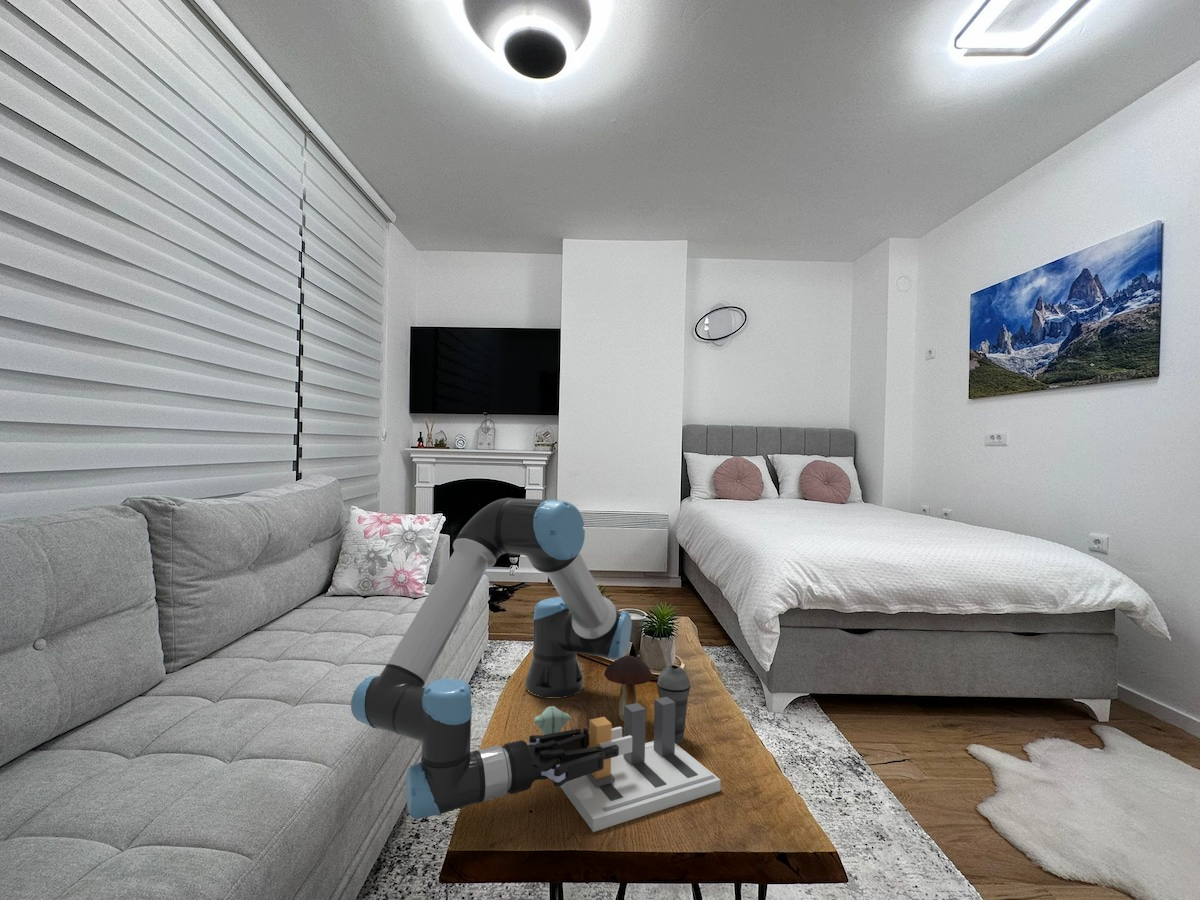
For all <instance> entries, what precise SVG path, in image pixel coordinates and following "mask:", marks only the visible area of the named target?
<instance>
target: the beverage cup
mask: <svg viewBox="0 0 1200 900" xmlns="http://www.w3.org/2000/svg"><path fill="white" fill-rule="evenodd" d="M667 653H668V662H669V663H668V664H669V665H667V666H665V667H664V668H663V669H662V670H661V671H660V673H659V675H658V677H657V683H656V686H657V690H658V695H659V696H658V697H659V698H663V697H668V698H670V699H671V700H673V701H674V702H675V743H676V744H677V745H678V744H681V743H683V741H684V735H685V730H686V729H685V728H686V719H687V708H688V699H689V696H690V689H691V684H690V683H691V682H690V678H689V676H688V673H687V672H686V671H685V669H683V668H682V666H681V667H680V666H679V665H676V664H673V663H672V661H673V660H672V654H671V645H670V644H668V645H667Z"/></svg>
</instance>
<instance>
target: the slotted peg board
mask: <svg viewBox="0 0 1200 900" xmlns="http://www.w3.org/2000/svg"><path fill="white" fill-rule="evenodd" d="M653 701H654V702H653V703H654V708H653V709H654V710H653V711H654V713H653V723H654V724H653V740H651V741H649V742H646V708H645V707H644V706H642V705H641V704H640V703H638V702H637V703H634V704H630V705H625V706H624V721H623V737H625V736H629V735H631V736H632V752H630V753H627V754H623V755H619V756H616V757H612V758H611V774H612V775H613V776H614V777H615V782H613V783H610V784H606V785H603V786H599V787H596V786H595V784H594V783H593V782H592V781H591V780H590V778H589V777H588V776H587V775H585V776H582V777H579V778H576V779H573V780H570V781H567V782H566V783H564V784H563V785H561V786H560V787H559V788H561V790H562V791H563V793H564V794H565V795H566V797H567V798H568V799H569V801H570V803H572V804H573V806H574V808H575V809H576V811H577V812H578V813H579V815H580V816H581V817H582V819H583V820H584V821H585V823H586V824H587V825H588V827H589V829H590V830H591V831H592V832H593V833H595V832H597V831H602V830H604V829H607V828H610V827H613V826H616V825H619V824H622V823H626V822H629V821H632V820H635V819H638V818H640V817H643V816H647V815H650V814H654V813H655V812H657V813H658V812H659V811H662V810H666V809H669V808H672V807H675V806H677V805H681V804H684V803H687V802H690V801H694V800H696V799H699V798H703V797H705V796H710V795H712V794H715V793H717V792H720V791H721V783H722V781H721V778H719V777H718V776H717V775H715V774H714V773H713V772H711V771H710V770H709V769H708V768H707V767H705V766H704V765H703V764H702V763H701V762H699V761H698V760H697V759H696V758H695V757H693V756H692V755H690V754H689V753H688V752H687V751H685V750H684V749H683V748H682V747H680V745H678V744H676V743H675V702H674V701H673V700H671V699H670V698H668V697H663V698H655V699H654V700H653Z"/></svg>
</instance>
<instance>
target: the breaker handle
mask: <svg viewBox="0 0 1200 900" xmlns="http://www.w3.org/2000/svg"><path fill="white" fill-rule="evenodd" d="M612 724H613V723H611V721H609V720H608V719H607V718H606V717H605V716H601V717H600V716H599V717H597V718H591V719H589V725H588V726H589V728H588V734H589V745H588V748H591V747H598V746H599V743H601V742H606V741H610V740H611V730H612V728H613V726H612ZM587 776H588V777H589V778H590V780H591V781H592V782H593V783H594V784H595V786H596V787H599V786H603V785H606V784H610V783H613V782H615V777H614V776H613V775H612V774H611V758H609V759H605V760H604V768H603V769H602V770H599V771H596V772H594V773H591V774H588V775H587Z"/></svg>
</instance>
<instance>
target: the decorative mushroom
mask: <svg viewBox="0 0 1200 900" xmlns="http://www.w3.org/2000/svg"><path fill="white" fill-rule="evenodd" d="M604 677H605V678H606V679H607V680H608V681H609V682H613V683H616V684H620V685H621V687H620V692H619V701H618V714H619V715H618V716H619V718H620V720H621V721H622V722H624V706H625V705H630V704H634V703H638V696H637V695H638V694H637V689H636V688H637V687H636V685H637V686H638V685H642V684H645V683H648V682H650V681H651V679H652V677H653V673H652V671H651V669H650V666H648V665H647V664H646V663H645V661H643V660H641V659H639V658H638V657H636V656H633V655H623V656H622V657H621V658H619V659H614V661H612V662H611V663H610V664H609V665H608V666H607V667H606V669H605V671H604Z"/></svg>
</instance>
